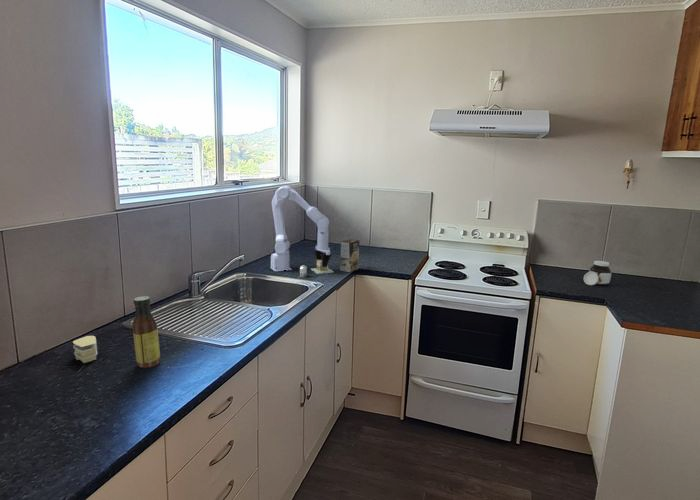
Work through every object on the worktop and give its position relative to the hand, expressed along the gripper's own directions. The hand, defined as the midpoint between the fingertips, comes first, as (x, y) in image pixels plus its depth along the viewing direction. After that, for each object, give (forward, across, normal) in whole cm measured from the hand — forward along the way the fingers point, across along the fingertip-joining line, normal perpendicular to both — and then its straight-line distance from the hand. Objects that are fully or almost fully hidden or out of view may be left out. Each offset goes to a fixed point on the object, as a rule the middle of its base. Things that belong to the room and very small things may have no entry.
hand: (322, 265), depth 229 cm
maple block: (+2, 0, 0) cm, 2 cm away
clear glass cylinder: (+3, -6, +13) cm, 14 cm away
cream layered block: (+4, -63, +104) cm, 122 cm away
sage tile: (+3, 0, 0) cm, 3 cm away
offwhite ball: (+1, +2, +10) cm, 10 cm away
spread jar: (+3, -74, -122) cm, 142 cm away
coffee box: (+3, -2, -15) cm, 16 cm away
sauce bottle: (+3, -74, +89) cm, 116 cm away
